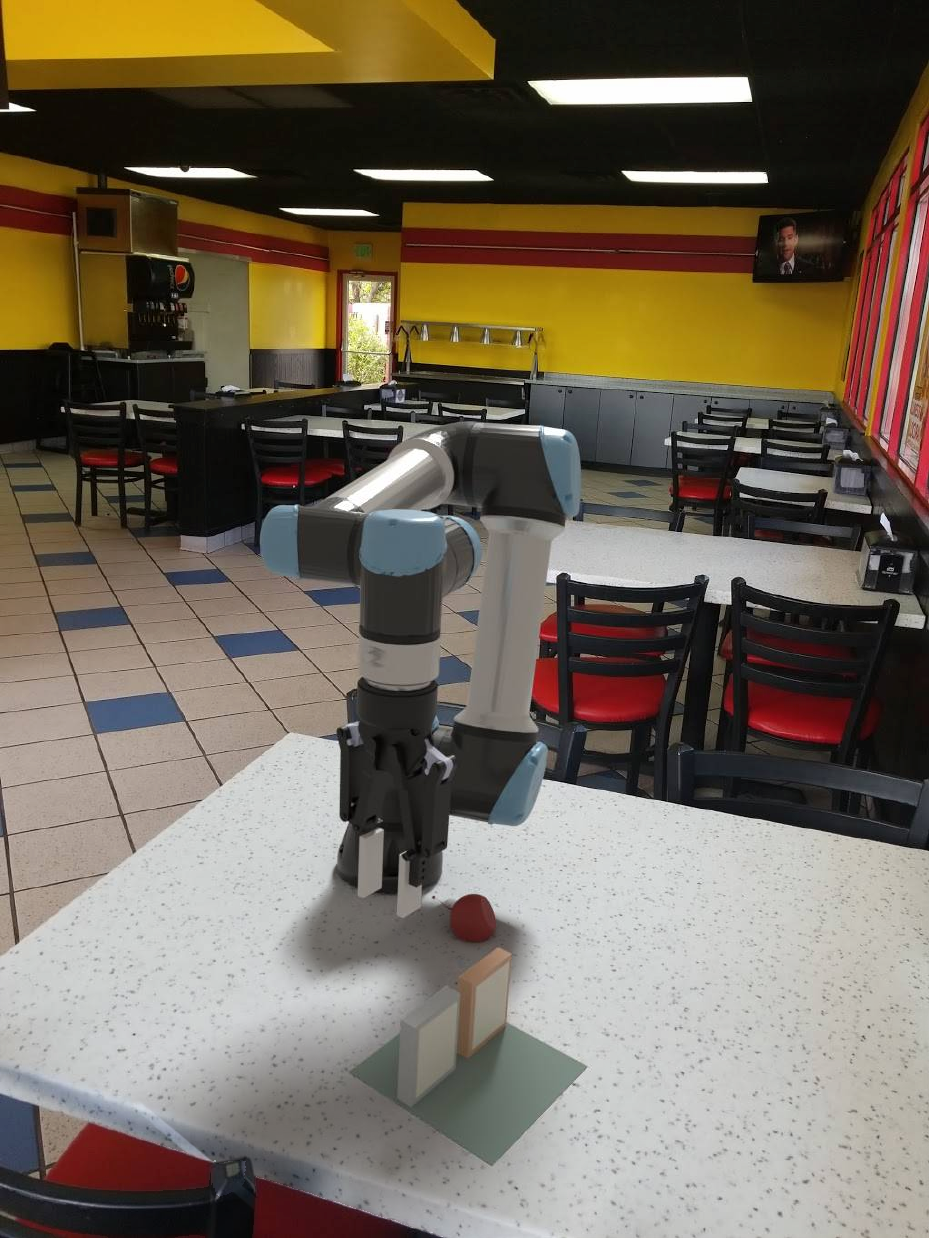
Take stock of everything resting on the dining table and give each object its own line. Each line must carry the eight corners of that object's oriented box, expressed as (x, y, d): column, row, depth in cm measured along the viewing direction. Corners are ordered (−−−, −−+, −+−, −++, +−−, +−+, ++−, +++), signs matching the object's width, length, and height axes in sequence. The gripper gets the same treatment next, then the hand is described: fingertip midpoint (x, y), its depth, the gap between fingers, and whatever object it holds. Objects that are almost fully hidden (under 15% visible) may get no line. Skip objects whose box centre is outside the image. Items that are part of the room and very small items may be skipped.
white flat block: (397, 1098, 94) (400, 1019, 92) (441, 1060, 99) (446, 985, 97) (412, 1107, 93) (416, 1028, 91) (456, 1069, 98) (461, 993, 96)
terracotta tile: (453, 1050, 101) (458, 976, 99) (492, 1018, 106) (498, 947, 104) (468, 1059, 100) (473, 984, 98) (507, 1026, 105) (512, 954, 103)
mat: (348, 1076, 97) (348, 1071, 97) (452, 997, 110) (452, 992, 110) (491, 1170, 87) (491, 1165, 87) (587, 1070, 100) (587, 1066, 100)
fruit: (462, 934, 127) (435, 883, 125) (501, 919, 125) (474, 868, 124) (456, 961, 121) (427, 909, 119) (497, 946, 119) (468, 892, 118)
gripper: (302, 665, 91) (299, 883, 97) (446, 711, 81) (433, 953, 87) (357, 649, 97) (351, 857, 103) (497, 691, 87) (482, 919, 93)
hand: (389, 900), depth 95 cm, fingers open, 4 cm apart
